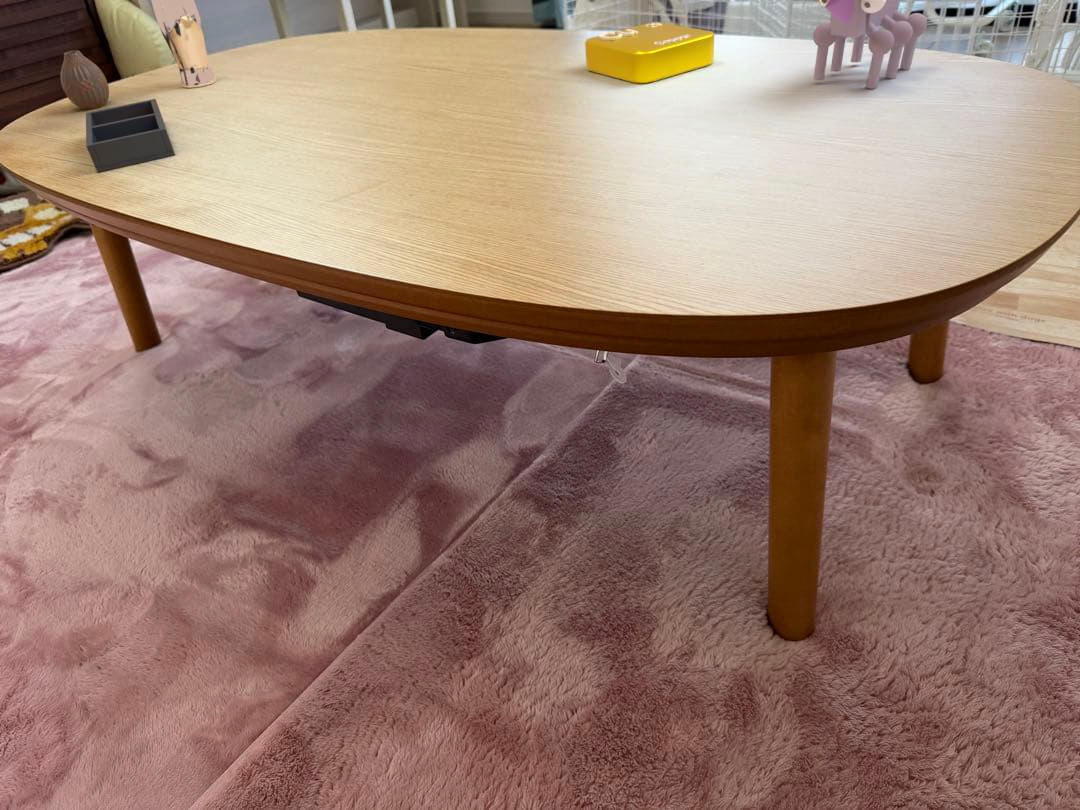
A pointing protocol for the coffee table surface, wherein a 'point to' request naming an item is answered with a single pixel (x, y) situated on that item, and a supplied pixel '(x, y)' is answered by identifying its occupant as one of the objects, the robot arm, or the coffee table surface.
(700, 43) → the element tile
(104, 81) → the vase
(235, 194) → the coffee table surface
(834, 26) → the pink figurine
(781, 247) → the coffee table surface
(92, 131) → the holder
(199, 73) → the beer glass
